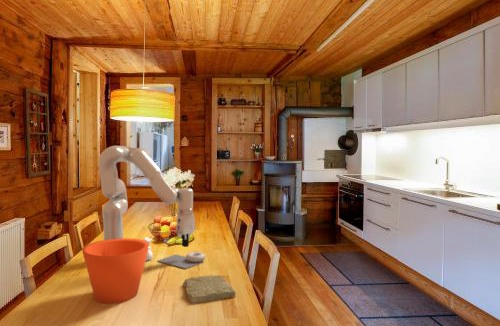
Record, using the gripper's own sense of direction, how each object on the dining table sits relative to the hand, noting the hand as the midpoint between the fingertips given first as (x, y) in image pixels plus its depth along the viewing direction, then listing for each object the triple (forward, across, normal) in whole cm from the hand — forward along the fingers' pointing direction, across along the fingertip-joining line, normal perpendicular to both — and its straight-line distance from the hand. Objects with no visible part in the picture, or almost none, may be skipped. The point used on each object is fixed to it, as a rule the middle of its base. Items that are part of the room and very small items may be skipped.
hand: (185, 246), depth 186 cm
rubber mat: (+8, -4, 0) cm, 8 cm away
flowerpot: (+8, -48, -8) cm, 49 cm away
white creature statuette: (+8, -11, +18) cm, 23 cm away
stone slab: (+8, -24, -35) cm, 43 cm away
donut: (+5, +4, -1) cm, 7 cm away
